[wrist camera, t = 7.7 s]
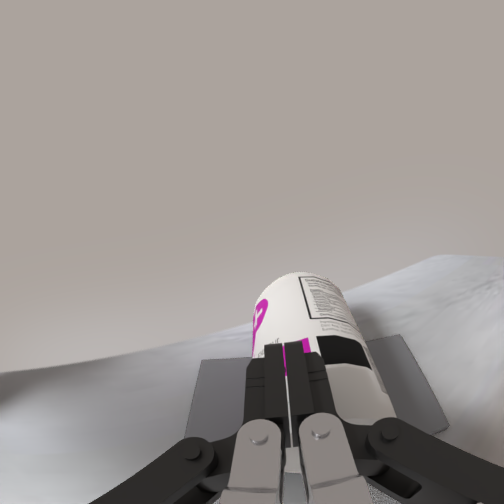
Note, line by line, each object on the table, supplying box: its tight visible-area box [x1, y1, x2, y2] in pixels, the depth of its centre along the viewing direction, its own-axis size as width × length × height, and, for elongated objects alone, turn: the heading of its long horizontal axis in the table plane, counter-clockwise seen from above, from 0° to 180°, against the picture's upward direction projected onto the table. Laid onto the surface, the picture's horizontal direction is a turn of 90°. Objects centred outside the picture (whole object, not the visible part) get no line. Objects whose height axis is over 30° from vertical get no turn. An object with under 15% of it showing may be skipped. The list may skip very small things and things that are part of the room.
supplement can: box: [252, 272, 397, 473], centre depth 18 cm, size 8×8×15 cm
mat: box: [184, 334, 449, 442], centre depth 20 cm, size 20×12×1 cm, turn 89°
